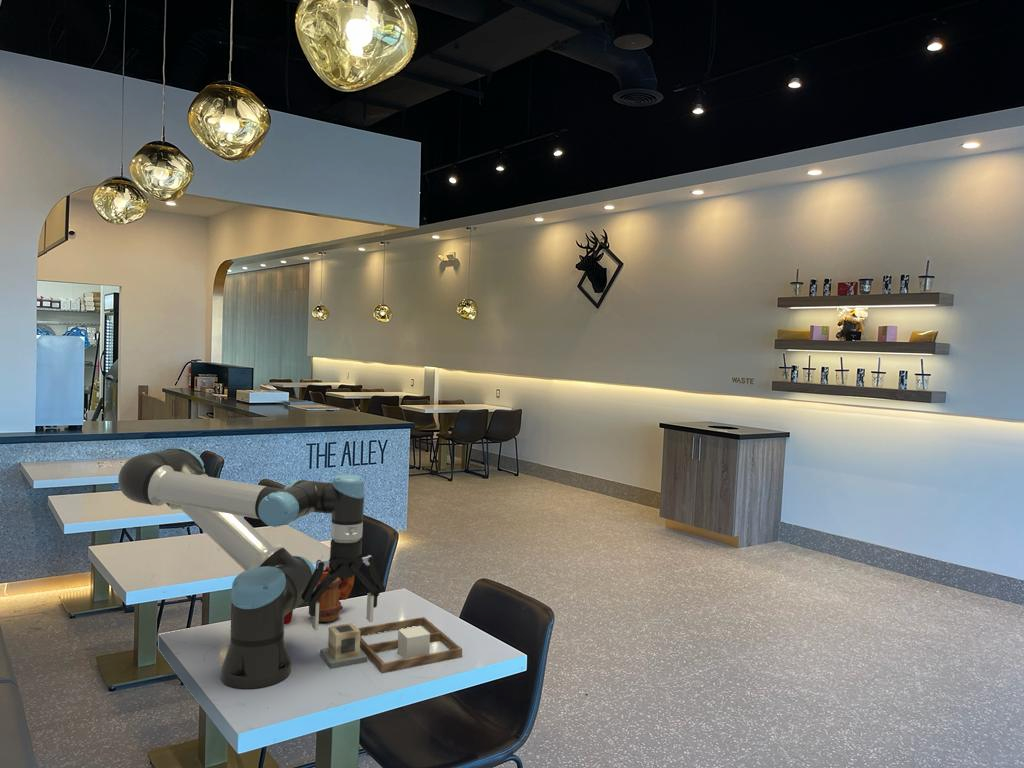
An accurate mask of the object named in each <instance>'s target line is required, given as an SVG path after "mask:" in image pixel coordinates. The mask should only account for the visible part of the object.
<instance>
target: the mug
mask: <svg viewBox="0 0 1024 768" xmlns="http://www.w3.org/2000/svg"><path fill="white" fill-rule="evenodd" d="M330 570H331V569H330V568H329V566H328V567H326V569H325V570H324V571H323V573H322V576H321V577H320V579H319V581H318V583H317V586H316V588H317V587H318V586H319V584H320V583H321V582H322V581H323V579H324V578H325V577H326V576H327V573H328V572H329V571H330ZM355 576H356V574H355V575H354V576H352V577H344V578H339V577H337V578H336V580H335V581H333V582H332V583H331V584H330V586H329V587H328V588H327V589H326V591H325V592H324V593H323V594H322V596H321V597H320V598H319V599H318V600H317V601H318V603H319V622H320V623H328V622H332V621H335V620H337V619H338V618H339V616H340V612H341V611H342V610H343V605H342V602H341V601H340V599H341V600H344V601H346V600H347V599H348V597H349V596H350V594H351V592H352V590H353V587H354V583H355ZM339 587H340V588H339Z"/></svg>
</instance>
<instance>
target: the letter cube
mask: <svg viewBox="0 0 1024 768" xmlns="http://www.w3.org/2000/svg"><path fill="white" fill-rule="evenodd" d="M358 628H359V627H357V626H356V625H355V624H354V623H353V622H350V623H345V624H344V623H343V624H338V625H331V626H328V646H327V648H328V651H329V652H330V654H331V655H332V656H333V657H334V659H335V660H339V659H344V658H349V657H354V656H359V655H360V649H361V648H360V630H359V629H358Z"/></svg>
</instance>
